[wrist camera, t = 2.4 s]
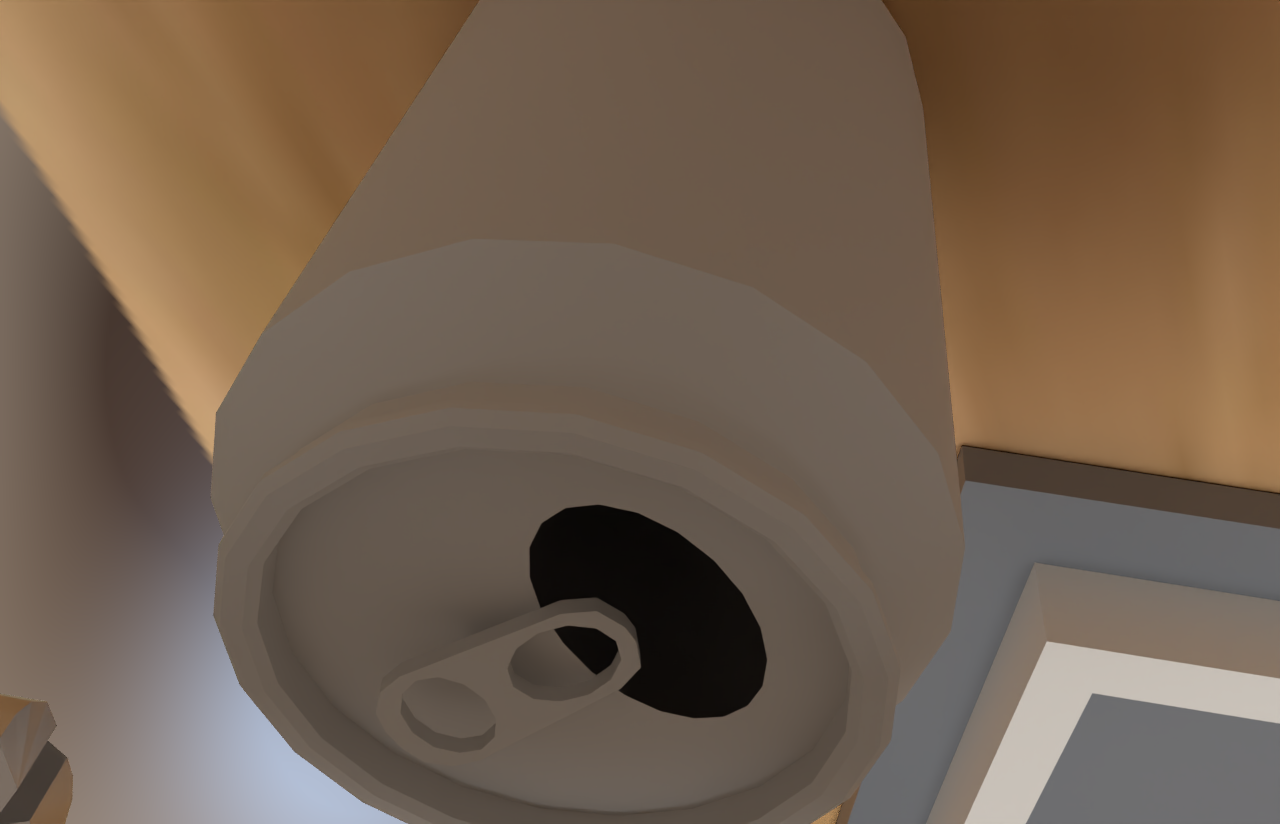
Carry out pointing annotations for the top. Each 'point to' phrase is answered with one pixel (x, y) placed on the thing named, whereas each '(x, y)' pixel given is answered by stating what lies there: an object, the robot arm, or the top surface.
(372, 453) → the can
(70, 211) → the top surface
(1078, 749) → the grey flat square tray
